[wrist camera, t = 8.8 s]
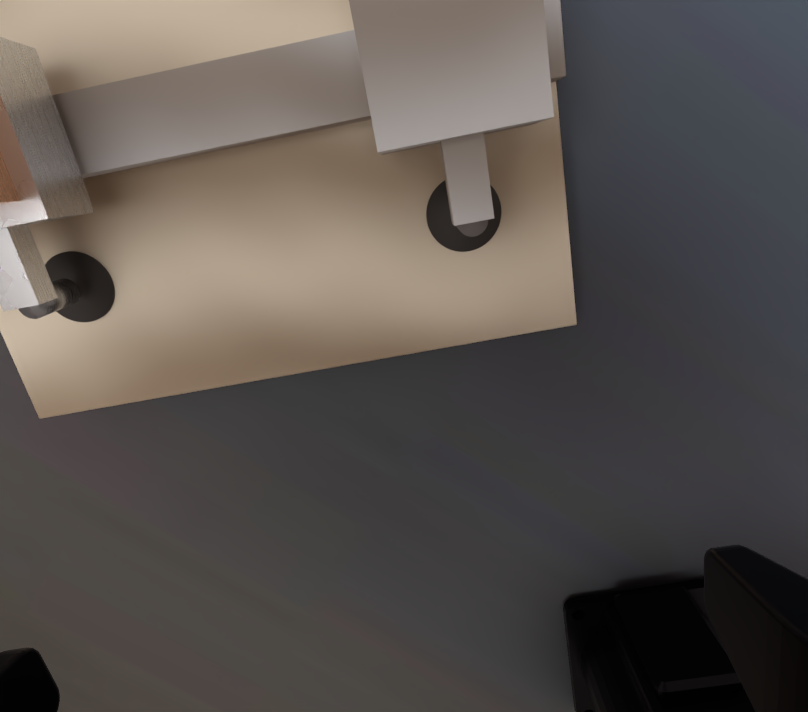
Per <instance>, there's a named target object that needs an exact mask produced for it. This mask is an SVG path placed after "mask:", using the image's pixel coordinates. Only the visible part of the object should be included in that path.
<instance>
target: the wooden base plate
mask: <svg viewBox="0 0 808 712" xmlns="http://www.w3.org/2000/svg"><path fill="white" fill-rule="evenodd" d="M0 37H2V38H5V39H8V40H11V41H14V42H17V43H20V44H23V45H26V46H29V47H32V48H35V49H36V51H37V54H38V57H39V60H40V63H41V65H42V68H43V71H44V74H45V76H46V79H47V82H48V85H49V87H50V90H51V93H52V96H53V98H54V101H55V104H56V107H57V109H58V112H59V115H60V118H61V121H62V123H63V126H64V129H65V132H66V134H67V137H68V140H69V143H70V145H71V148H72V151H73V154H74V156H75V159H76V162H77V165H78V168H79V170H80V173H81V176H82V179H83V181H84V184H85V187H86V190H87V192H88V195H89V198H90V201H91V203H92V206H93V209H94V212H93V213H88V214H83V215H78V216H73V217H68V218H63V219H58V220H53V221H48V222H43V223H38V224H33V225H29V228H30V230H31V233H32V235H33V238H34V240H35V243H36V245H37V247H38V250H39V252H40V255H41V257H42V260H43V262H44V265H45V267H46V270H47V272H48V275H49V277H50V280H51V282H52V281H55V280H58V279H63V278H65V279H69V280H72V281H73V282H74V283H76V284H77V286H78V287H79V290H80V299H79V301H78V302H77V303H75V304H73V305H70V306H68V307H66V308H63V309H61V310H58V311H56V312H53V313H51V314H48V315H46V316H43V317H41V318H38V319H31V318H28V317H26V316H24V315H23V314H22V313H21V312H20V311H19V310H18V309H14V310H9V311H3V310H2V308H1V305H0V331H1V334H2V336H3V338H4V340H5V343H6V345H7V347H8V349H9V352H10V354H11V356H12V358H13V360H14V363H15V365H16V367H17V369H18V372H19V374H20V376H21V378H22V381H23V383H24V385H25V387H26V389H27V392H28V394H29V396H30V398H31V401H32V403H33V405H34V407H35V410H36V412H37V414H38V416H39V418H46V417H52V416H57V415H63V414H69V413H75V412H80V411H86V410H92V409H97V408H103V407H109V406H115V405H120V404H126V403H132V402H137V401H143V400H149V399H155V398H160V397H166V396H172V395H177V394H183V393H189V392H195V391H200V390H206V389H212V388H217V387H223V386H229V385H235V384H240V383H246V382H252V381H257V380H263V379H269V378H275V377H280V376H286V375H292V374H297V373H303V372H309V371H315V370H320V369H326V368H332V367H337V366H343V365H349V364H355V363H360V362H366V361H372V360H377V359H383V358H389V357H395V356H400V355H406V354H412V353H417V352H423V351H429V350H435V349H440V348H446V347H452V346H457V345H463V344H469V343H475V342H480V341H486V340H492V339H497V338H503V337H509V336H515V335H520V334H526V333H532V332H537V331H543V330H549V329H554V328H560V327H566V326H572V325H577V321H576V309H575V298H574V286H573V274H572V263H571V251H570V239H569V228H568V216H567V204H566V193H565V181H564V169H563V158H562V146H561V134H560V123H559V111H558V99H557V88H556V81H558V80H560V79H561V78H563V77H565V76H566V67H565V54H564V42H563V29H562V17H561V4H560V0H0Z"/></svg>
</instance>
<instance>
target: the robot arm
mask: <svg viewBox="0 0 808 712" xmlns="http://www.w3.org/2000/svg"><path fill="white" fill-rule="evenodd" d="M577 610H580V611H578V612H574V611H577ZM563 613H564V621H565V630H566V639H567V647H568V656H569V665H570V674H571V682H572V691H573V700H574V707H575V711H576V712H808V579H807V578H805V577H803V576H801V575H799V574H797V573H795V572H793V571H791V570H789V569H787V568H785V567H783V566H781V565H779V564H778V563H776V562H774V561H772V560H770V559H768V558H766V557H764V556H762V555H760V554H758V553H756V552H754V551H752V550H751V549H749V548H746V547H744V546H741V545H730V546H723V547H716V548H711V549H709V550H707V551H706V553H705V556H704V579H702V580H695V581H688V582H681V583H674V584H667V585H660V586H653V587H646V588H639V589H632V590H625V591H618V592H611V593H604V594H597V595H590V596H583V597H576V598H572V599H569V600H568V601H566V603H565V604H564V606H563ZM59 701H60V694H59V689H58V687H57V685H56V683H55V681H54V679H53V677H52V675H51V674H50V672H49V670H48V668H47V666H46V664H45V662H44V660H43V658H42V657H41V655H40V653H39V652H38V651H37V650H35V649H33V648H21V649H14V650H8V651H4V652H1V653H0V712H57V710H58V707H59Z"/></svg>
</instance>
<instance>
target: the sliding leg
mask: <svg viewBox="0 0 808 712" xmlns="http://www.w3.org/2000/svg"><path fill="white" fill-rule="evenodd" d="M93 212H94V209H93V206H92V203H91V201H90V198H89V195H88V192H87V190H86V187H85V184H84V181H83V179H82V176H81V173H80V170H79V168H78V165H77V162H76V159H75V156H74V154H73V151H72V148H71V145H70V143H69V140H68V137H67V134H66V132H65V129H64V126H63V123H62V121H61V118H60V115H59V112H58V109H57V107H56V104H55V101H54V98H53V96H52V93H51V90H50V87H49V85H48V82H47V79H46V76H45V74H44V71H43V68H42V65H41V63H40V60H39V57H38V54H37V51H36V49H35V48H32V47H29V46H26V45H23V44H20V43H17V42H14V41H11V40H8V39H5V38H2V37H0V305H1V308H2V310H3V311H9V310H14V309H18V310H19V311H20V312H21V313H22V314H23V315H24V316H26V317H28V318H31V319H38V318H41V317H43V316H46V315H48V314H51V313H53V312H56V311H58V310H61V309H63V308H66V307H68V306H70V305H73V304H75V303H77V302H78V301H79V299H80V290H79V287H78V286H77V284H76V283H74V282H73V281H72V280H69V279H65V278H63V279H58V280H55V281H52V282H51V280H50V277H49V275H48V272H47V270H46V267H45V265H44V262H43V260H42V257H41V255H40V252H39V250H38V247H37V245H36V243H35V240H34V238H33V235H32V233H31V230H30V228H29V225H33V224H38V223H43V222H48V221H53V220H58V219H63V218H68V217H73V216H78V215H83V214H88V213H93Z"/></svg>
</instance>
